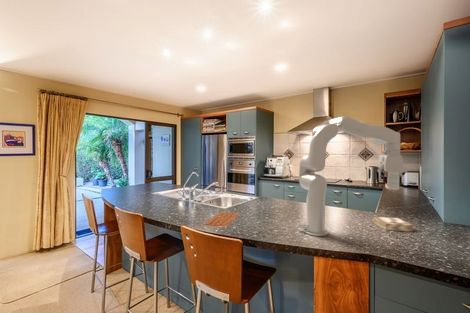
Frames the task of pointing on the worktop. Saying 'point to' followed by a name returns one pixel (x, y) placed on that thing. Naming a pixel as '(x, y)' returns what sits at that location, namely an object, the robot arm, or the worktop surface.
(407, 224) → the maple plinth
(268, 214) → the worktop surface
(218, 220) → the wooden cutting board
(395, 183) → the small box
